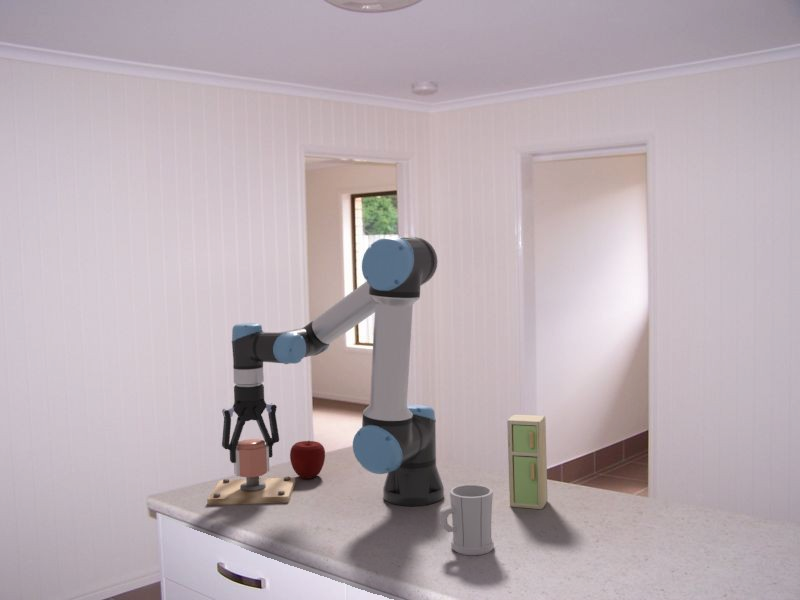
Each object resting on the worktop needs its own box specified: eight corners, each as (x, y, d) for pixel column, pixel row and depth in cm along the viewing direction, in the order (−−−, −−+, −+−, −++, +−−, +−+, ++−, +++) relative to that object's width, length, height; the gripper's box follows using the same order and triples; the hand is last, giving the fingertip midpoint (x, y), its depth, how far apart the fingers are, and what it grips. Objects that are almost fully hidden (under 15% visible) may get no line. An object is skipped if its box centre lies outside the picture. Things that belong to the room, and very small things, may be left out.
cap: (269, 474, 199) (268, 443, 198) (242, 478, 196) (241, 447, 195) (261, 467, 205) (260, 437, 205) (235, 471, 202) (233, 441, 201)
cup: (478, 562, 153) (477, 502, 153) (438, 553, 158) (436, 495, 157) (501, 544, 162) (500, 487, 162) (462, 536, 167) (460, 481, 166)
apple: (323, 481, 209) (322, 445, 209) (288, 482, 209) (286, 446, 209) (327, 471, 219) (326, 436, 218) (293, 472, 219) (292, 437, 218)
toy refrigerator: (507, 507, 185) (506, 420, 183) (515, 498, 192) (513, 413, 190) (541, 511, 182) (540, 422, 180) (547, 501, 189) (546, 415, 187)
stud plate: (295, 482, 209) (294, 454, 209) (288, 502, 193) (287, 471, 193) (220, 485, 209) (219, 456, 208) (207, 505, 193) (206, 474, 192)
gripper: (281, 378, 207) (284, 463, 208) (206, 385, 198) (209, 474, 199) (291, 382, 200) (293, 470, 202) (213, 390, 191) (216, 482, 193)
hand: (251, 472), depth 201 cm, fingers closed on cap, 7 cm apart
